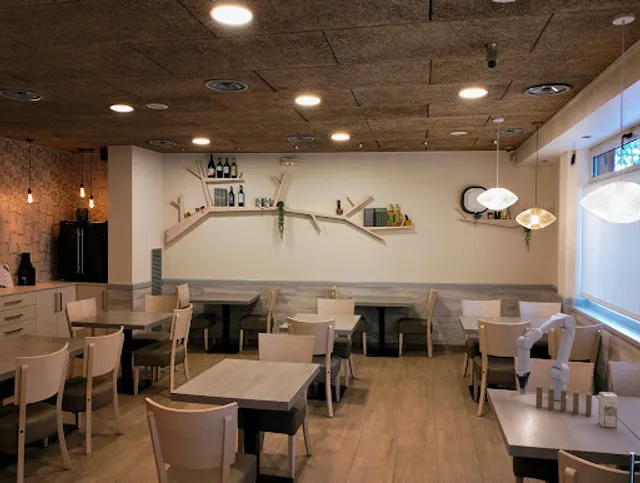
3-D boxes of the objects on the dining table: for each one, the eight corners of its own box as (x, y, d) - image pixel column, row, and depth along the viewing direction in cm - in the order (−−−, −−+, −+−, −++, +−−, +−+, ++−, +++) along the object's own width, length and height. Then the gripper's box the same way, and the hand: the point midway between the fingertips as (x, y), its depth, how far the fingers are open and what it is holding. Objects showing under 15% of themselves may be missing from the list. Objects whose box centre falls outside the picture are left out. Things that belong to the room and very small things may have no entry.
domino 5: (574, 410, 262) (574, 390, 261) (578, 411, 261) (579, 391, 260) (572, 413, 257) (573, 393, 257) (577, 414, 256) (577, 393, 256)
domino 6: (586, 412, 259) (587, 392, 258) (591, 413, 258) (591, 392, 257) (585, 416, 254) (586, 394, 254) (590, 416, 253) (590, 395, 253)
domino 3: (549, 406, 267) (549, 386, 267) (554, 407, 266) (554, 387, 266) (548, 409, 263) (548, 389, 263) (552, 410, 262) (552, 390, 262)
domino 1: (522, 391, 279) (522, 371, 278) (526, 391, 278) (526, 372, 277) (520, 393, 274) (520, 374, 274) (524, 394, 273) (524, 374, 273)
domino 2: (537, 404, 270) (538, 385, 270) (542, 405, 269) (542, 385, 269) (536, 407, 266) (536, 387, 265) (540, 408, 265) (540, 388, 264)
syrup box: (611, 423, 245) (612, 391, 245) (617, 428, 239) (617, 395, 239) (598, 422, 245) (598, 391, 245) (603, 427, 240) (604, 395, 239)
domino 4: (561, 408, 264) (562, 388, 264) (566, 409, 263) (566, 389, 263) (560, 411, 260) (560, 391, 260) (564, 412, 259) (565, 391, 259)
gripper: (518, 356, 284) (517, 382, 284) (512, 362, 271) (512, 389, 272) (532, 358, 280) (532, 384, 280) (527, 364, 268) (527, 391, 268)
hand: (523, 387), depth 276 cm, fingers closed on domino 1, 5 cm apart
